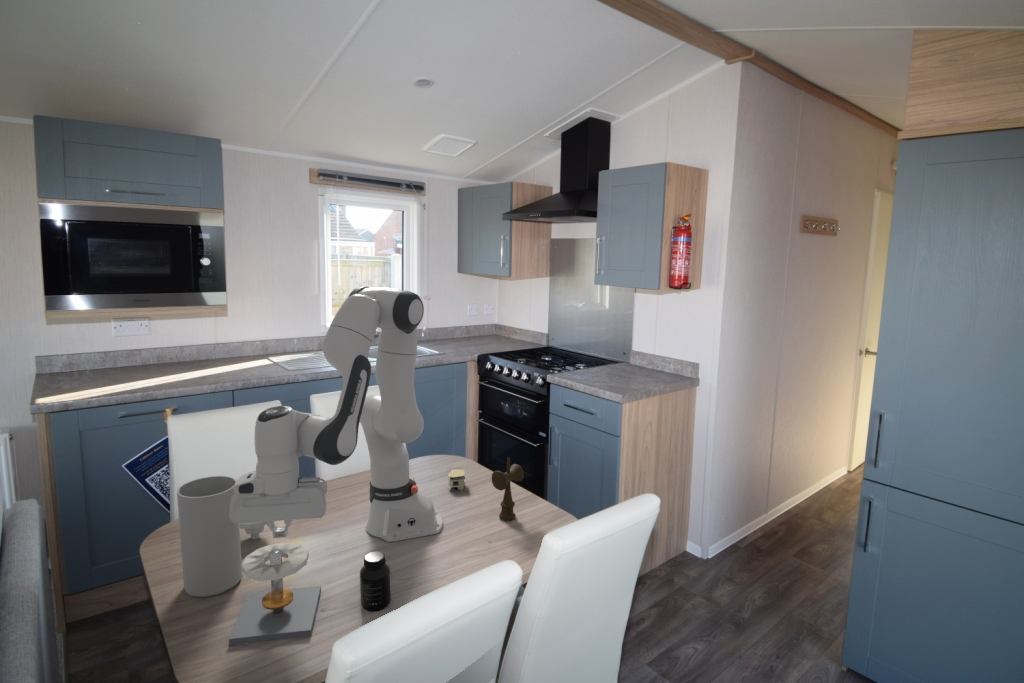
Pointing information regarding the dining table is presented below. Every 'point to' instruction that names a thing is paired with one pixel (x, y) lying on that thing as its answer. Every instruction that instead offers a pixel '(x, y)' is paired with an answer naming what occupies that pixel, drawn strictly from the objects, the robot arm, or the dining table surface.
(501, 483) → the kendama
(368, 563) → the supplement bottle
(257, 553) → the silicone ring
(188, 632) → the dining table surface
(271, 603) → the silver and orange rod
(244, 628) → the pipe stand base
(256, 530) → the showerhead
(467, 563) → the dining table surface
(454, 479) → the beige blocky piece
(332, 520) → the dining table surface
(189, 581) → the cylinder vase
